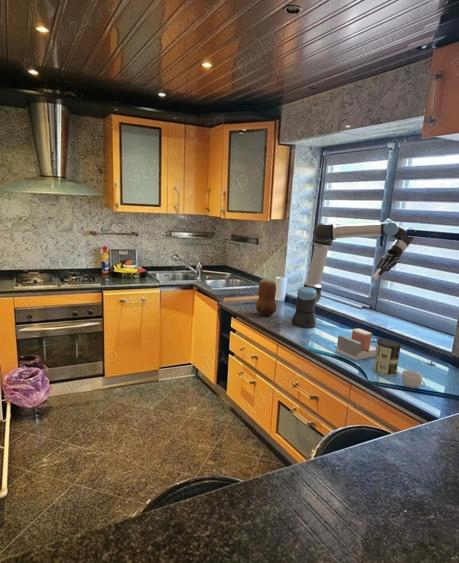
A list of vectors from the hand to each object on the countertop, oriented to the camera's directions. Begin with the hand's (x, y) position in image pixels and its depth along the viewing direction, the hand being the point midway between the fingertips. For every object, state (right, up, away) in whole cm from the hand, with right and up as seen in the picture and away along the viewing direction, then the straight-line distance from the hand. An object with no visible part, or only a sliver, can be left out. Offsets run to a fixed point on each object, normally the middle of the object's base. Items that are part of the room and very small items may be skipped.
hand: (374, 278), depth 215 cm
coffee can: (-11, -44, -40) cm, 60 cm away
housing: (-14, -39, -18) cm, 45 cm away
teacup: (-5, -47, -55) cm, 72 cm away
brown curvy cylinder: (-58, -25, +42) cm, 76 cm away
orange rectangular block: (-15, -37, -19) cm, 44 cm away
